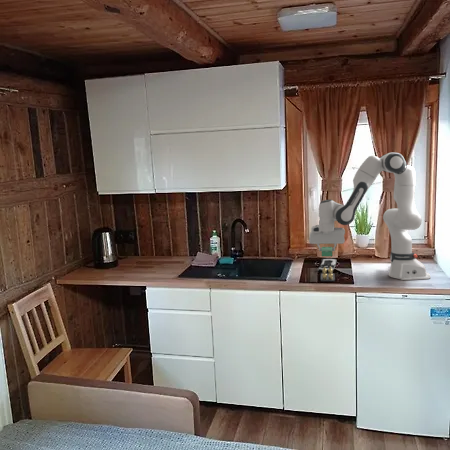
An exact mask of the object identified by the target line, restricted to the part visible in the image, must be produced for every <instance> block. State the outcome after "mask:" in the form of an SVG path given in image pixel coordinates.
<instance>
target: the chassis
mask: <svg viewBox="0 0 450 450" xmlns="http://www.w3.org/2000/svg"><path fill="white" fill-rule="evenodd" d="M333 272H334V270H333V269H331V267H330V269H328V273H327V269H325V267H324V269H323V272H320V282H336V275H335V273H333Z"/></svg>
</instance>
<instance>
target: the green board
mask: <svg viewBox="0 0 450 450" xmlns="http://www.w3.org/2000/svg"><path fill="white" fill-rule="evenodd" d="M321 248H322V251H321V257H333V251H332V248H333V247H332V246H322V247H321Z"/></svg>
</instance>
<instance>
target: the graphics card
mask: <svg viewBox="0 0 450 450" xmlns="http://www.w3.org/2000/svg"><path fill="white" fill-rule="evenodd" d="M337 263H338V262H337V259H336V258H321V263H320V265H319V266H318V268H317V273H323V269H324V267H325V269H327V273H328V269H330V267H331V269H333V271H334V270H335V268H336V264H337Z"/></svg>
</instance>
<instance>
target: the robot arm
mask: <svg viewBox="0 0 450 450" xmlns="http://www.w3.org/2000/svg"><path fill="white" fill-rule="evenodd" d="M382 172H385V173H389V174H390V173H391V174H392V173H393V175H394V186H393V200H394V202H395V203H396V205H397V208H389V209H386V211H384V213H383V218H382V220H383V222H384V223H385V225H386V226H387V229H388V232H389V236H390V240H391V242H390V243H391V246H390V247H391V251H390V269H389V272H388V276H389V277H391V278H392V279H393V278H394V279H399V280H401V281H413V280H429V279H431V274H430V273H429V272H428V271H427V269H426V266H425V265H424V263H422V262H421V261H420V260H418V259H417V258H418V255H417V253H416V252H413V239H412V236H411V235H410V234H409V233H408V231H416V230H417V229H419V228H420V227H421V225H422V223H423V222H422V221H423V220H422V216H421V214H420V213H419V212H418V210H417V207H416V202H415V201H416V200H415V194H416V192H415V191H416V181H417V180H416V170H415V168H414V167H413V166H411V165H408V163H407V162H406V160H405V158H404V156H403V155H402V154H401V153H399V152H388V153H386V154H383V155H381V156H376V155H369V156H368V157H367V158H366V159H364V161H363V162H362V163H361V165H360V166H359V168H358V169H357V171H356V172H355V174H354V177H353V180H352V182H353V189H352V190H353V191H352V193H351V195H350V196H349V198H348V199H347V202H346V203H345V204H341V203H338V202H336V201H334V200H333V199H324V200H321V201H320V202H319V205H318V219H319V220H318V224H316V225H313V226H311V228H310V233H309V240H308V241H309V242H308V243H309V244H311V245H314V244H315V245H317V247H318V250H319V252H322V247H321V246H320V245H321V244H325V245H326V244H327V245H328V244H329V245H330V244H332V245H333V247H332V252H335V251H336V247H337V244H341V245H342V244H345V235H346V229H345V228H343V227H335V221H336V222H337V223H338V224H340V225H341V226H349V225H350V224H352V223H353V222H354V220H355V216H356V211H357V209H358V207H359V205H360V203H361V202H362V200H363V198H364V196H365V195H366V193H367V192H368V191H369V189H370V187H372V185H373V184H374V182H375V180H376V179H377V177H378V176H379V175H380V173H382Z"/></svg>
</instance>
